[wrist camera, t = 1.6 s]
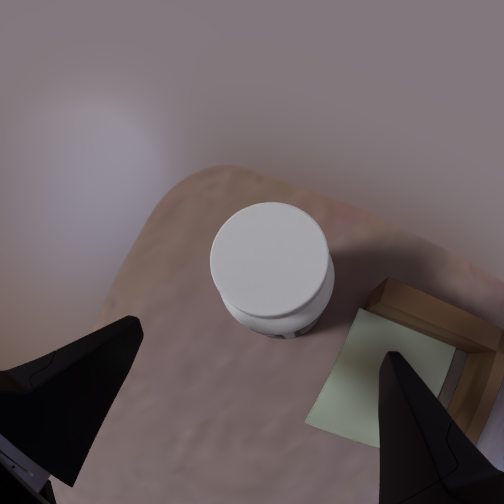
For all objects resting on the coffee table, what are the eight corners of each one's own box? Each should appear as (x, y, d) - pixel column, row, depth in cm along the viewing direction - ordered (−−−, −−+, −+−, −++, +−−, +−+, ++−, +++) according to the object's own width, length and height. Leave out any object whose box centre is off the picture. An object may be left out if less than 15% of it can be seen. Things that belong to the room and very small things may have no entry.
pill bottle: (309, 253, 21) (315, 175, 11) (333, 325, 18) (366, 302, 9) (236, 275, 21) (188, 214, 12) (255, 348, 19) (214, 347, 10)
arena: (426, 474, 12) (446, 492, 9) (294, 438, 16) (293, 458, 12) (485, 339, 15) (514, 334, 12) (366, 288, 19) (381, 274, 15)
